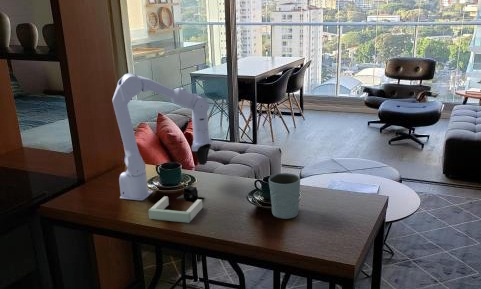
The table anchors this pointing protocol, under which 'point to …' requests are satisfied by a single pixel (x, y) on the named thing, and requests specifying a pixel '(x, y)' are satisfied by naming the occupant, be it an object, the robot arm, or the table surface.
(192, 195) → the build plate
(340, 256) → the table surface
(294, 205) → the pale green cup
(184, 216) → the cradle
